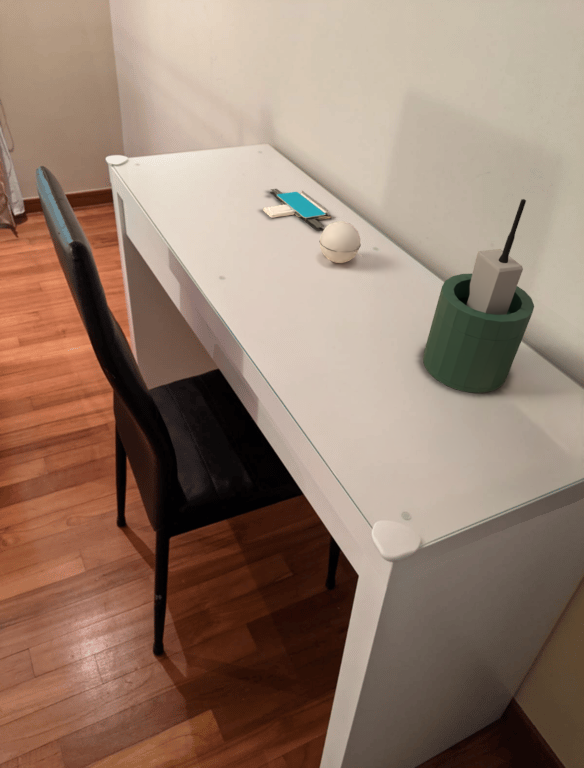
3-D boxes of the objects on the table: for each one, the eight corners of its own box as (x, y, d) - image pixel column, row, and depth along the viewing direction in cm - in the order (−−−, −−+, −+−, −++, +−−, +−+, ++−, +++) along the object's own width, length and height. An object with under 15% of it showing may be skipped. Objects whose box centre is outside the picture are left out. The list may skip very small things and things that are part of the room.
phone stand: (245, 195, 131) (246, 188, 130) (293, 189, 136) (294, 181, 135) (291, 235, 118) (292, 227, 117) (342, 226, 123) (343, 218, 122)
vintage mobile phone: (467, 349, 92) (520, 188, 76) (486, 369, 88) (546, 204, 72) (446, 353, 91) (496, 189, 75) (464, 373, 87) (521, 206, 71)
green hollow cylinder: (512, 357, 93) (539, 288, 85) (498, 403, 84) (527, 331, 76) (434, 333, 96) (453, 265, 88) (413, 375, 87) (432, 303, 79)
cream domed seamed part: (310, 254, 113) (314, 216, 108) (345, 249, 116) (350, 212, 111) (335, 280, 106) (341, 241, 102) (372, 274, 109) (379, 236, 104)
